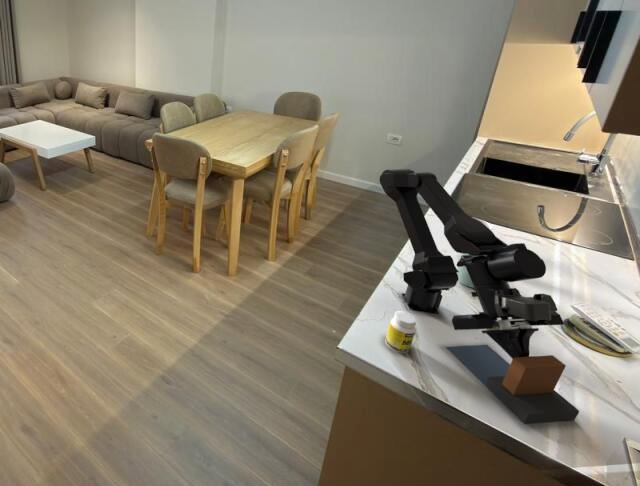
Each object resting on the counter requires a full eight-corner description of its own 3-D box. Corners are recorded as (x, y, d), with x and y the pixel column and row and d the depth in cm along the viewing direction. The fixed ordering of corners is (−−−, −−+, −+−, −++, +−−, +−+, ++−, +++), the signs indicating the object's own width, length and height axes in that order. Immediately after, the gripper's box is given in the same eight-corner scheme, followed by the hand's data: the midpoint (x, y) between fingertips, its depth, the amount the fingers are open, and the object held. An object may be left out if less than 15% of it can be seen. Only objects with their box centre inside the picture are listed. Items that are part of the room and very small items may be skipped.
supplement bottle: (401, 357, 87) (410, 327, 85) (380, 342, 91) (388, 313, 88) (413, 349, 90) (423, 320, 87) (392, 335, 93) (400, 306, 91)
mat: (444, 348, 90) (445, 346, 89) (486, 346, 90) (486, 344, 90) (523, 425, 73) (524, 423, 73) (573, 422, 73) (574, 420, 73)
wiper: (484, 385, 80) (499, 350, 77) (531, 382, 81) (547, 347, 77) (524, 423, 73) (542, 386, 69) (574, 420, 73) (595, 383, 70)
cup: (489, 296, 106) (501, 265, 102) (452, 285, 110) (463, 255, 107) (487, 281, 112) (498, 251, 108) (452, 271, 116) (462, 242, 112)
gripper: (481, 282, 76) (518, 373, 69) (572, 277, 76) (617, 367, 70) (437, 289, 86) (467, 369, 79) (518, 285, 87) (553, 364, 80)
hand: (525, 367), depth 77 cm, fingers closed, pressing on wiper
